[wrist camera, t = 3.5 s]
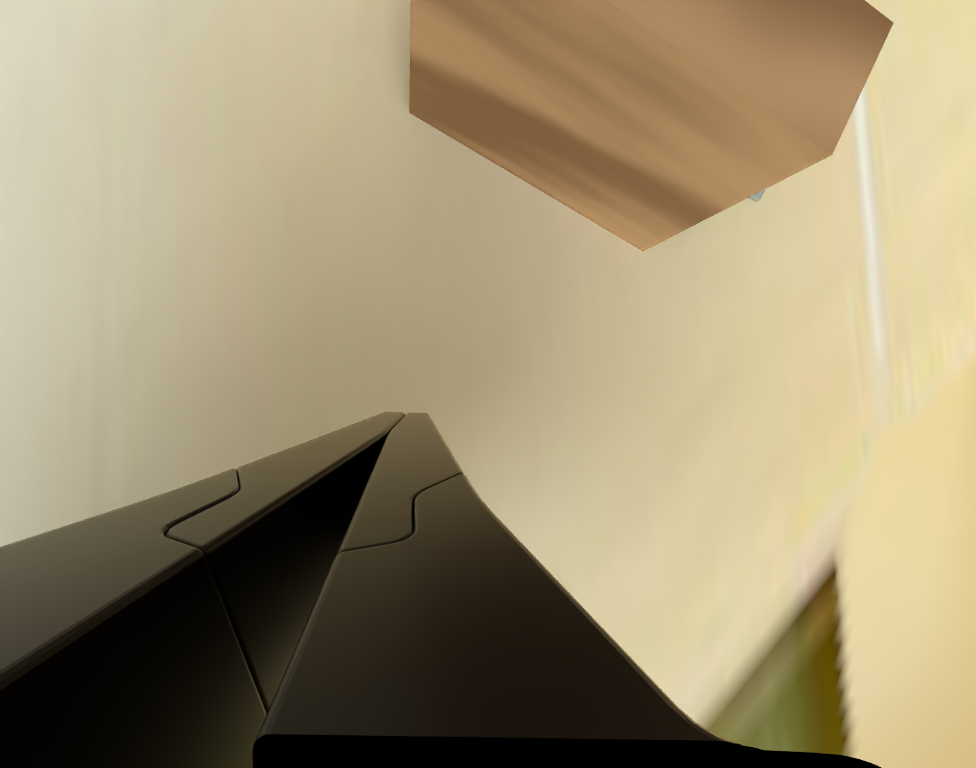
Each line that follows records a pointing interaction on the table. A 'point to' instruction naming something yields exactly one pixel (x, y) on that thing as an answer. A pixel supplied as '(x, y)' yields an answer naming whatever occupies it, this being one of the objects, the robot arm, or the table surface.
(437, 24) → the walnut block
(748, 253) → the table surface
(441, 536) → the robot arm
